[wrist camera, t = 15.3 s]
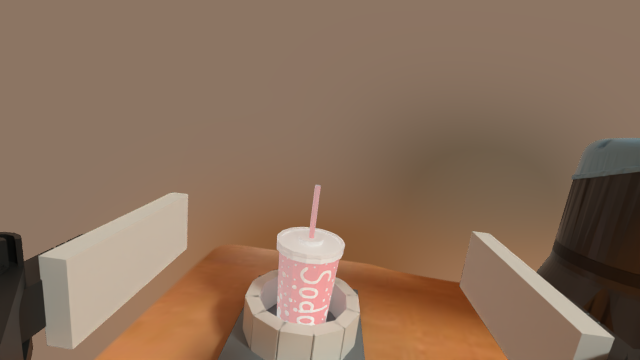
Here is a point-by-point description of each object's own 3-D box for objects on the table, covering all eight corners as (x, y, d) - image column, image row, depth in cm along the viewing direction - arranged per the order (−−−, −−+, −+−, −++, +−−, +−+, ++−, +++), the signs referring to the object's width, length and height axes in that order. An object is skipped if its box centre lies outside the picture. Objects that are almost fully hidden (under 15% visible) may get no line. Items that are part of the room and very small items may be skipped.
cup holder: (355, 298, 38) (361, 264, 37) (367, 428, 22) (378, 375, 21) (258, 284, 38) (261, 250, 37) (202, 401, 23) (205, 348, 22)
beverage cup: (260, 344, 27) (275, 188, 24) (275, 303, 33) (289, 173, 30) (330, 356, 27) (354, 199, 24) (332, 312, 33) (352, 182, 30)
